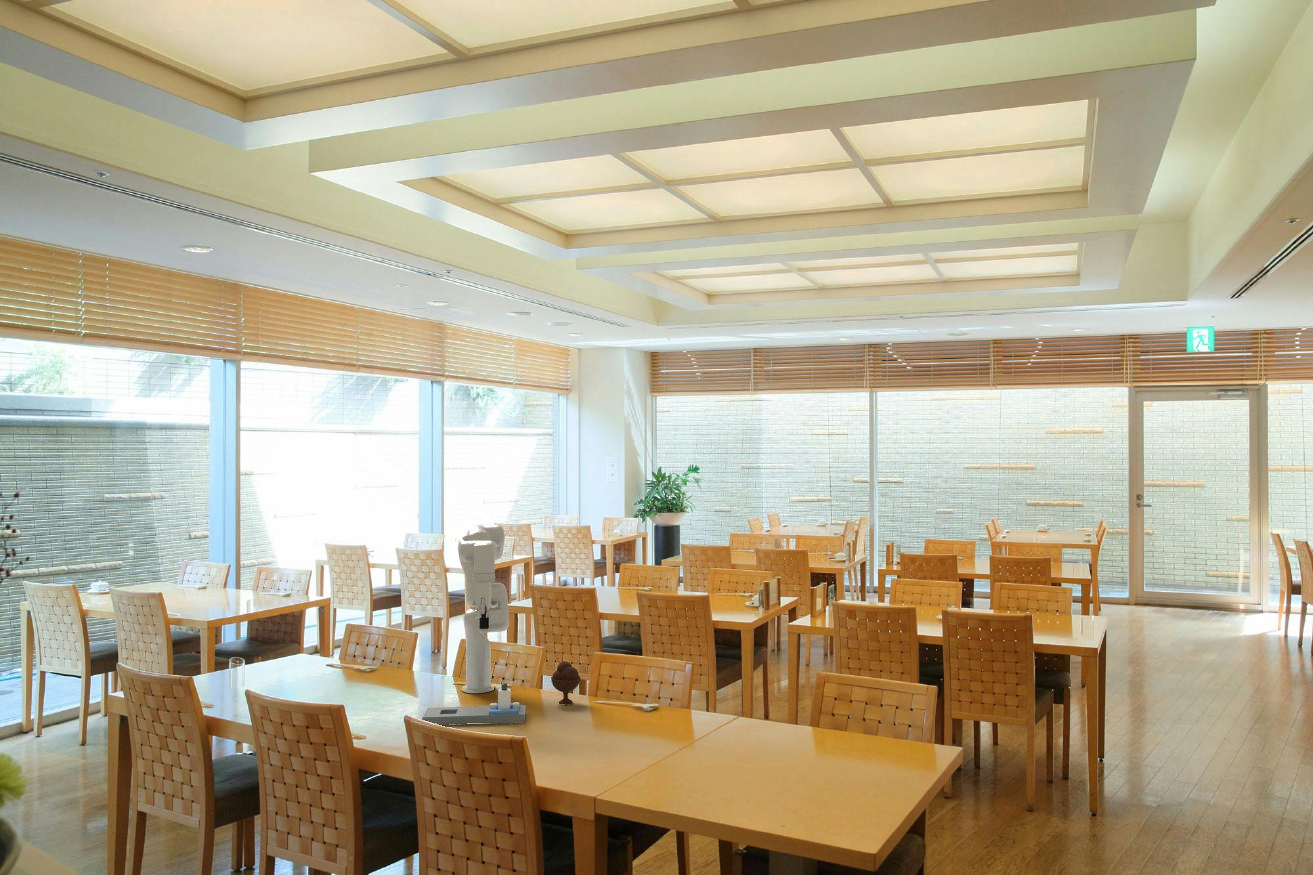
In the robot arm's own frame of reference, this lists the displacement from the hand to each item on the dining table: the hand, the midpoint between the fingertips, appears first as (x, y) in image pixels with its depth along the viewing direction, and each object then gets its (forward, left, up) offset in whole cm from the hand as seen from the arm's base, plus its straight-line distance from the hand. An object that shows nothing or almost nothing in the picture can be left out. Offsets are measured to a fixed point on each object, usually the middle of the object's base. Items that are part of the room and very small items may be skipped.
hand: (484, 628), depth 332 cm
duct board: (+12, -2, -29) cm, 32 cm away
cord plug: (+12, +8, -29) cm, 32 cm away
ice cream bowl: (-6, +29, -29) cm, 42 cm away
